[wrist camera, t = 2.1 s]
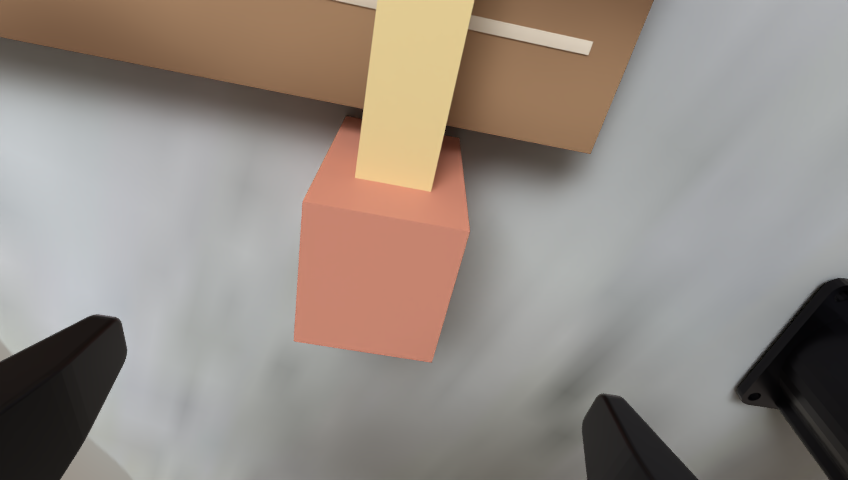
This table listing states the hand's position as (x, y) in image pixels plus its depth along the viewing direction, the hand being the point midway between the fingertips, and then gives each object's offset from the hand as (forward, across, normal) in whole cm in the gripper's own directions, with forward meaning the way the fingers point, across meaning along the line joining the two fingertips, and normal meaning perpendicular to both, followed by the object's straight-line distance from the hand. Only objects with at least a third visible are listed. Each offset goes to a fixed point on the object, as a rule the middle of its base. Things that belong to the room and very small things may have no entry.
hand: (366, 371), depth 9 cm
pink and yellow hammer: (+8, 0, -4) cm, 9 cm away
